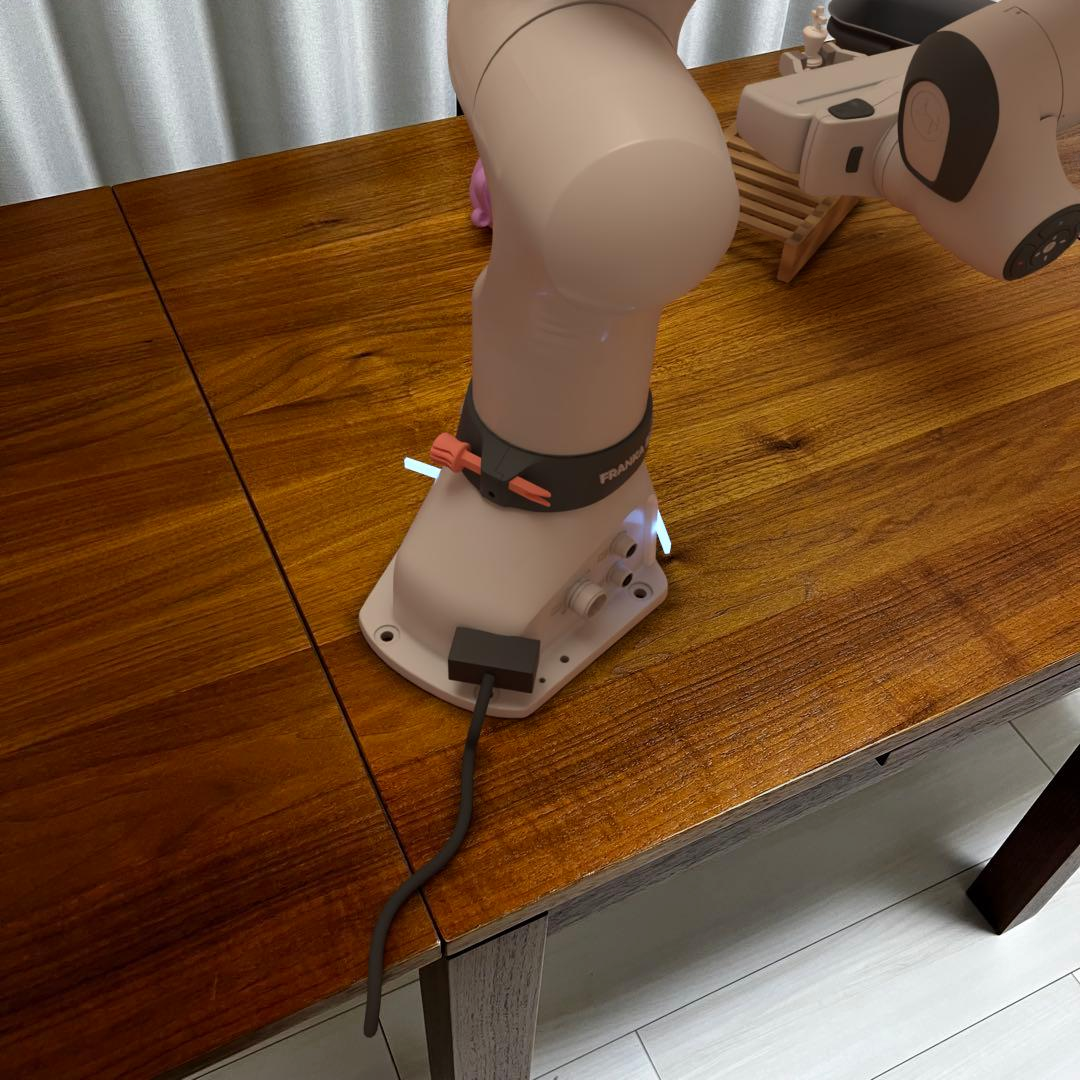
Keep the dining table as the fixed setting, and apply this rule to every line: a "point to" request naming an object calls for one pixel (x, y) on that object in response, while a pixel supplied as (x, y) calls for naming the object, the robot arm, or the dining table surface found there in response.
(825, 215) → the rack
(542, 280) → the robot arm
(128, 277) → the dining table surface
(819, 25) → the chess piece
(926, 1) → the storage bin
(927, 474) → the dining table surface
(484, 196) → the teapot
